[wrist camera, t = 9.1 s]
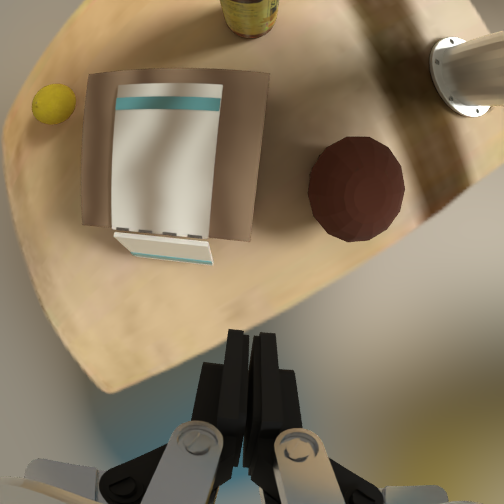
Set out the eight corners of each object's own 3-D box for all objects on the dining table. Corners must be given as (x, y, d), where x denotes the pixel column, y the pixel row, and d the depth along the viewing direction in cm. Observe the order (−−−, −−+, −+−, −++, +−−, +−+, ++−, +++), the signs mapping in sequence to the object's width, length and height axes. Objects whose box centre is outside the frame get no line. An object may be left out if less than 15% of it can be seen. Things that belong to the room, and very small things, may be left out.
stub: (208, 241, 29) (207, 247, 29) (213, 261, 37) (212, 266, 37) (114, 231, 29) (113, 237, 29) (136, 253, 37) (135, 257, 37)
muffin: (308, 127, 34) (326, 123, 25) (389, 146, 35) (427, 151, 25) (292, 219, 39) (304, 245, 29) (371, 232, 39) (401, 260, 30)
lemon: (80, 79, 31) (47, 72, 24) (90, 112, 33) (57, 110, 26) (52, 99, 32) (18, 96, 25) (61, 131, 34) (26, 133, 26)
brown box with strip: (266, 90, 33) (270, 72, 23) (251, 216, 38) (249, 244, 29) (126, 86, 32) (85, 73, 22) (119, 204, 38) (79, 226, 28)
